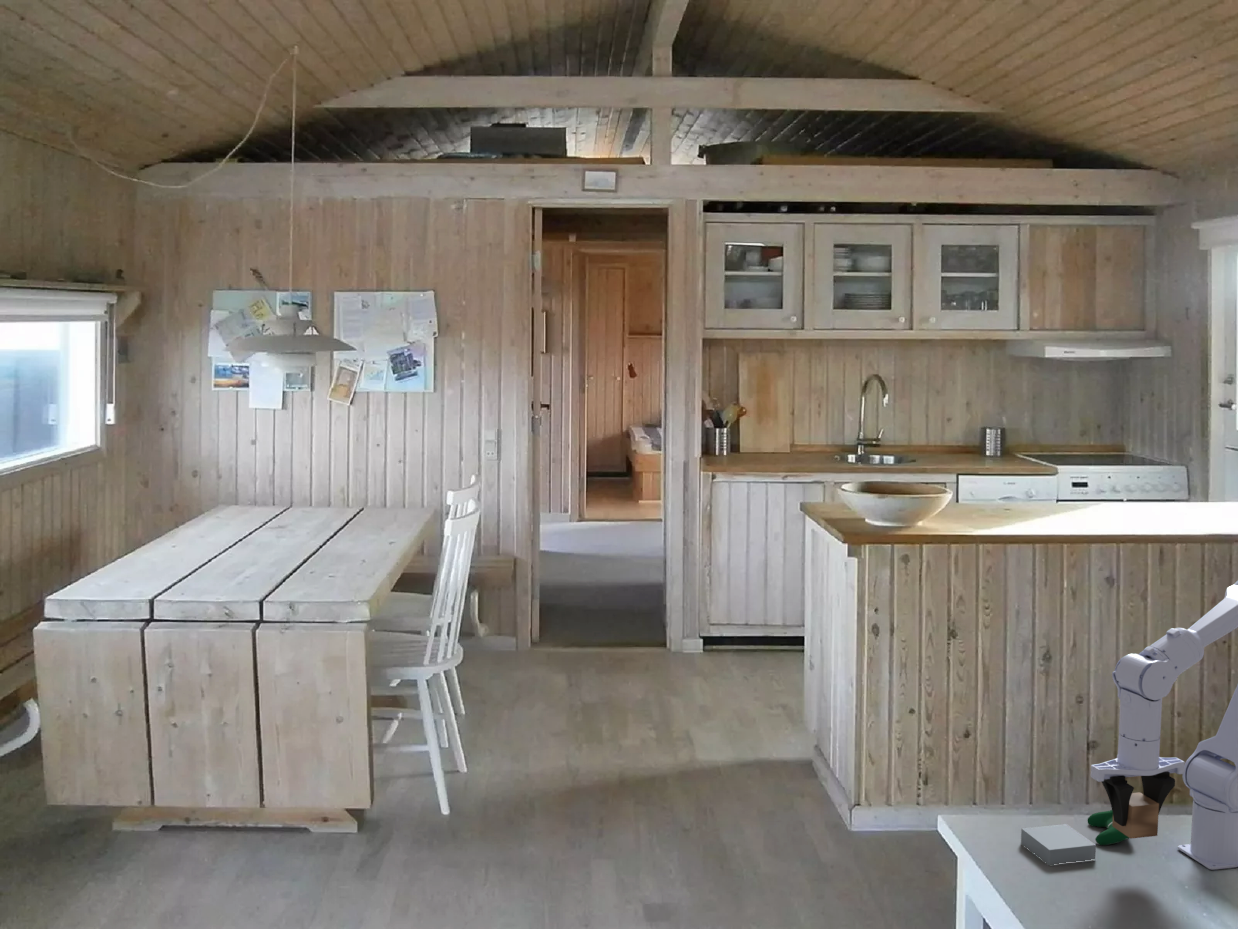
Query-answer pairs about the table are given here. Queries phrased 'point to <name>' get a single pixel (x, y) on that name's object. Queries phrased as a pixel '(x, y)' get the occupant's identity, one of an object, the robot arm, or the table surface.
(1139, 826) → the walnut block
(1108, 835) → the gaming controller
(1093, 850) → the slate block
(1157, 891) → the table surface
